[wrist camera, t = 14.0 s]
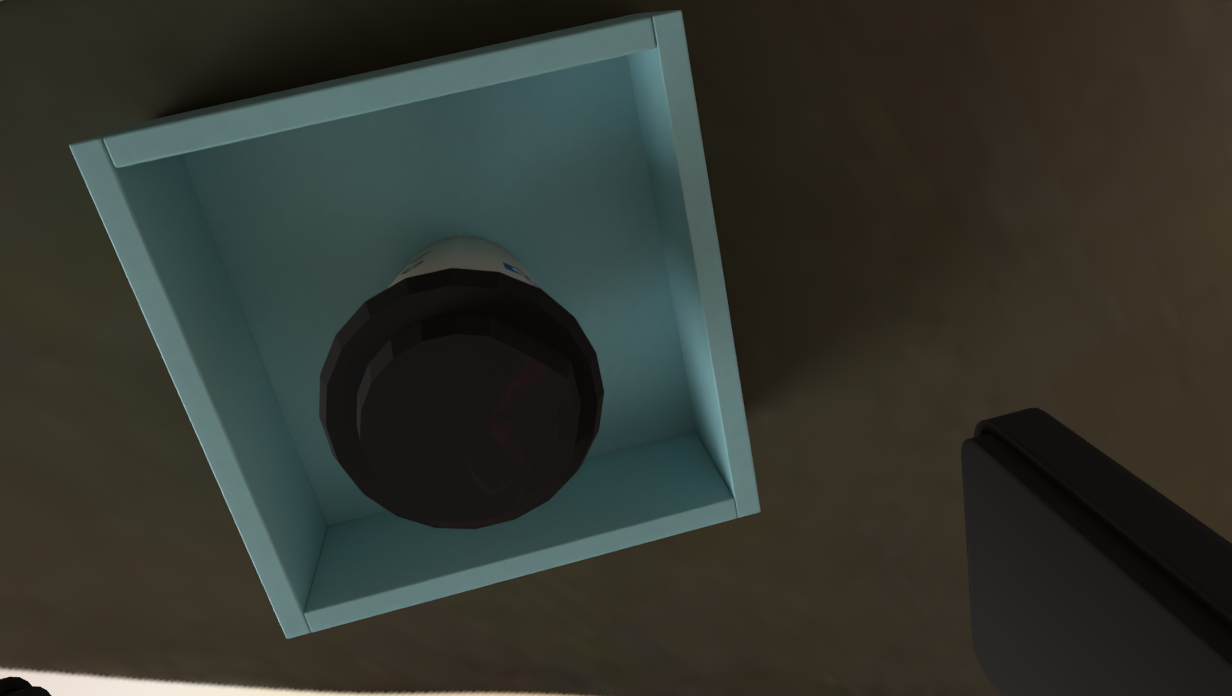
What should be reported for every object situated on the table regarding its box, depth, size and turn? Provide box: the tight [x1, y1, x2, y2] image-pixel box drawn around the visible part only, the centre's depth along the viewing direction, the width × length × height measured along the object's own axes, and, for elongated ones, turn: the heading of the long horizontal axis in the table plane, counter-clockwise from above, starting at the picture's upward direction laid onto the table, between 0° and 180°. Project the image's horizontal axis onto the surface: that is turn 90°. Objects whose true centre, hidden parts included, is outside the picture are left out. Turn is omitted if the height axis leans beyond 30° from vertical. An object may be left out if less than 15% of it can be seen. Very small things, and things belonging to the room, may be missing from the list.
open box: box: [70, 10, 761, 639], centre depth 27 cm, size 16×16×6 cm
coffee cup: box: [319, 235, 604, 529], centre depth 24 cm, size 7×7×10 cm
